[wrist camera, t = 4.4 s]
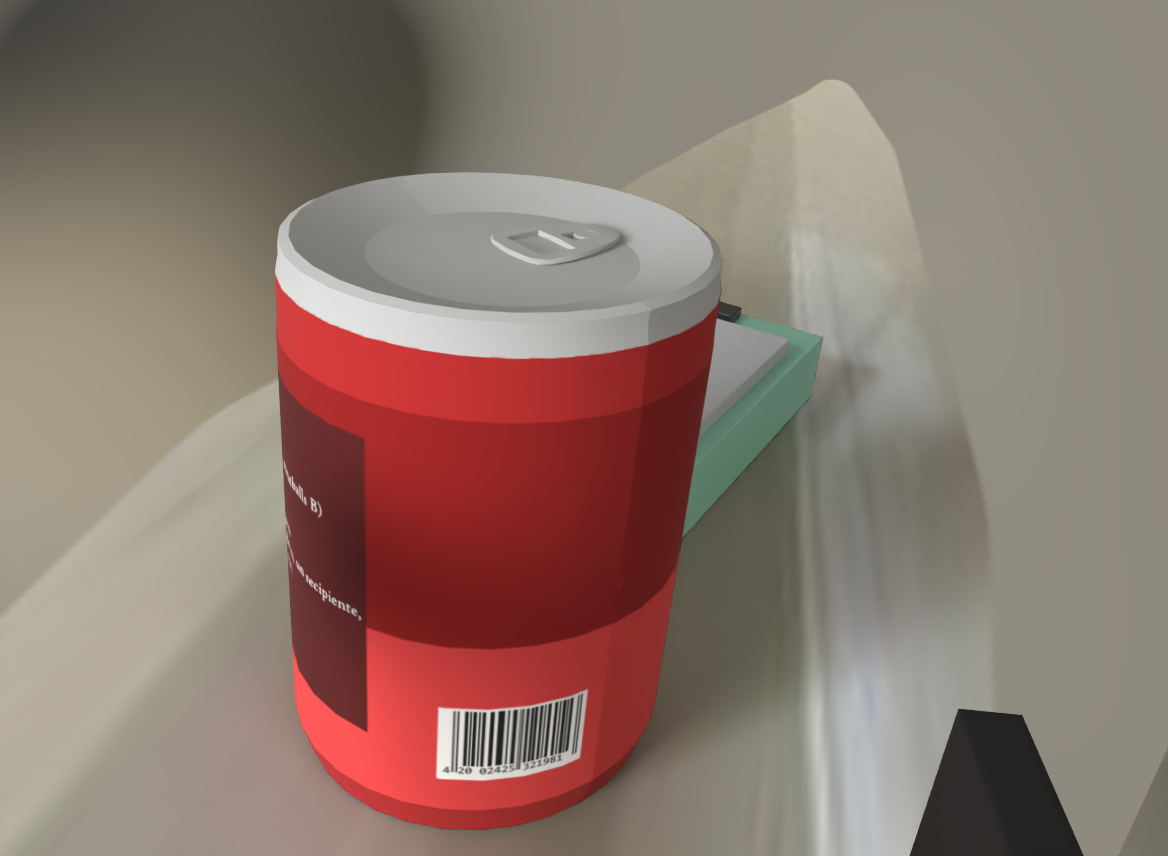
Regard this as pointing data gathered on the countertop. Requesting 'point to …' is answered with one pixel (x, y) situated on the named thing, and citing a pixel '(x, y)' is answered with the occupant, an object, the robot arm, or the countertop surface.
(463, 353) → the canned food
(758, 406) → the scale
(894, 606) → the countertop surface
